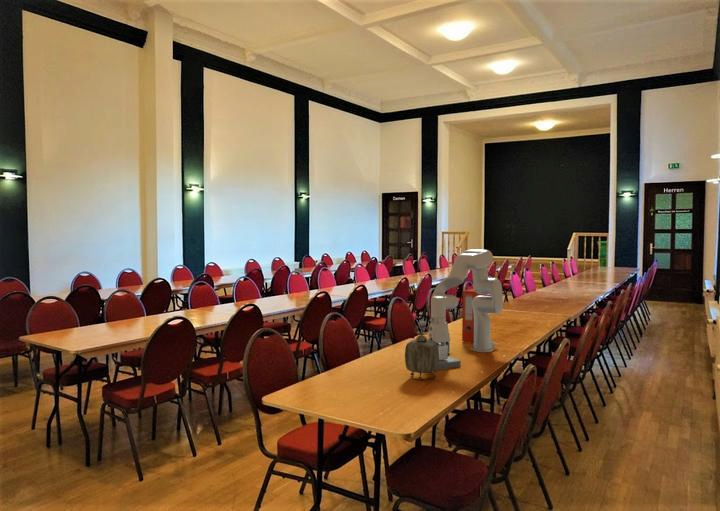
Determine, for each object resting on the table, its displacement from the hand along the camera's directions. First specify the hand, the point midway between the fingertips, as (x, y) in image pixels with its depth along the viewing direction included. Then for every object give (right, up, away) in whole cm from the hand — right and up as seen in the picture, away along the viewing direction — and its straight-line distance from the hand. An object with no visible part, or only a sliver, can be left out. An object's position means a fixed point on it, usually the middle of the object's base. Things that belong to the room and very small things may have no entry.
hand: (438, 354), depth 271 cm
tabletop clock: (-12, -7, -24) cm, 28 cm away
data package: (+5, -4, +24) cm, 25 cm away
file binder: (+31, -2, +59) cm, 67 cm away
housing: (0, -2, 0) cm, 2 cm away
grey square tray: (0, -5, 0) cm, 5 cm away
